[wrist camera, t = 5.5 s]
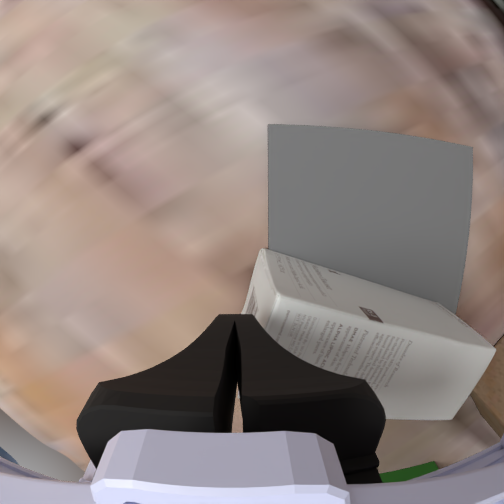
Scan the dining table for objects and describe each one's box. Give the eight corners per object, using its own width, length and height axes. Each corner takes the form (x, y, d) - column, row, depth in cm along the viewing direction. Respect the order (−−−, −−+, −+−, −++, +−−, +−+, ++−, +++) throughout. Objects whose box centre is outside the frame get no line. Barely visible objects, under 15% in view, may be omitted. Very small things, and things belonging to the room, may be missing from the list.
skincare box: (258, 245, 20) (436, 295, 22) (233, 327, 21) (405, 359, 23) (276, 299, 12) (502, 344, 14) (235, 412, 13) (455, 421, 15)
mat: (441, 355, 23) (443, 357, 23) (266, 377, 23) (267, 380, 22) (469, 147, 19) (472, 147, 19) (267, 125, 18) (268, 124, 18)
